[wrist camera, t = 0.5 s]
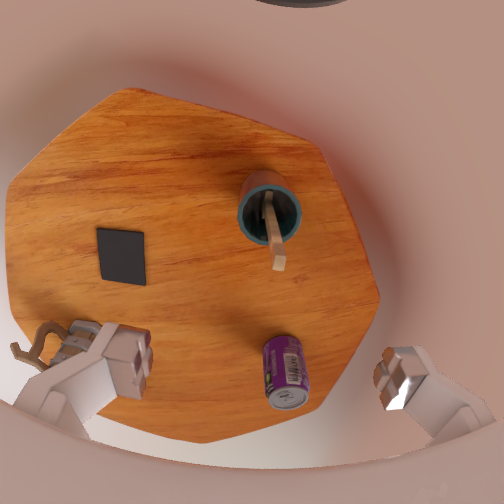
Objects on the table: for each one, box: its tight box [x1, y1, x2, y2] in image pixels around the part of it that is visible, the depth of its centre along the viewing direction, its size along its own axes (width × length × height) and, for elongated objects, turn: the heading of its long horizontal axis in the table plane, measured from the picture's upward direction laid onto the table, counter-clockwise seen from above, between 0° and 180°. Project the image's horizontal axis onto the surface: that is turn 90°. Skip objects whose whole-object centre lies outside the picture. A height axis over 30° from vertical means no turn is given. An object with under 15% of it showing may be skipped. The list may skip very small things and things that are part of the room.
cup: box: [237, 170, 302, 246], centre depth 34 cm, size 7×7×10 cm
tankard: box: [10, 320, 102, 372], centre depth 43 cm, size 20×13×15 cm, turn 44°
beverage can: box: [263, 336, 310, 410], centre depth 45 cm, size 7×7×12 cm
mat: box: [96, 228, 146, 286], centre depth 42 cm, size 9×8×1 cm
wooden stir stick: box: [260, 189, 286, 271], centre depth 29 cm, size 3×1×20 cm, turn 173°
